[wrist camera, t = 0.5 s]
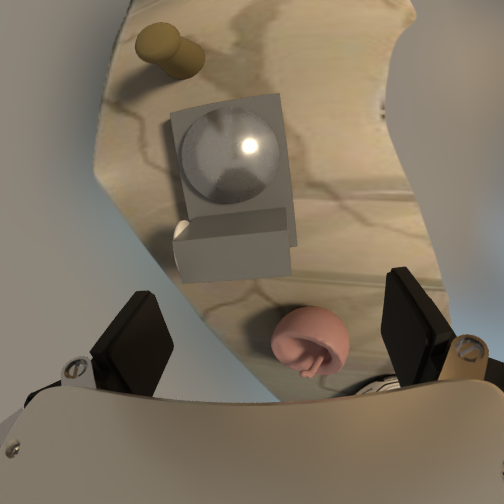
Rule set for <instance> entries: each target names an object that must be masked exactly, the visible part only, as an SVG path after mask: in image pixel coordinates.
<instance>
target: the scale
mask: <svg viewBox="0 0 504 504" xmlns="http://www.w3.org/2000/svg"><path fill="white" fill-rule="evenodd" d="M226 107H236V108H242V109H245V110H248V111H250V112H253V113H255V114H256V115H258V116H259V117H261V118H262V119H263V120H264V121H265V122H266V123H267V124H268V125H269V126H270V128H271V129H272V131H273V133H274V134H275V136H276V139H277V142H278V147H279V163H278V168H277V171H276V173H275V176H274V178H273V179H272V181H271V182H270V184H269V185H268V186H267V187H266V189H265V190H263V191H262V192H261V193H260V194H258V195H257V196H255V197H254V198H251V199H249V200H247V201H243V202H239V203H222V202H217V201H214V200H211V199H209V198H207V197H205V196H204V195H202V194H201V193H200V192H198V191H197V190H196V189H195V188H194V187H193V186H192V184H191V183H190V181H189V180H188V178H187V176H186V174H185V171H184V168H183V164H182V146H183V142H184V139H185V137H186V134H187V133H188V131H189V129H190V128H191V126H192V125H193V124H194V123H195V122H196V121H197V120H198V119H199V118H200V117H202V116H203V115H205V114H207V113H208V112H210V111H213V110H216V109H220V108H226ZM170 117H171V124H172V130H173V136H174V142H175V148H176V154H177V160H178V166H179V171H180V177H181V182H182V187H183V192H184V197H185V202H186V207H187V212H188V217H189V222H190V223H189V222H188V221H186V220H183V221H180V222H178V224H177V225H176V228H175V231H174V237H173V241H172V245H173V250H174V257H175V262H176V265H177V268H178V270H179V272H180V276H181V279H182V283H200V282H216V281H231V280H245V279H258V278H271V277H284V276H291V259H290V247H297V236H296V225H295V215H294V205H293V195H292V186H291V177H290V168H289V160H288V151H287V144H286V136H285V128H284V121H283V114H282V107H281V101H280V94H279V93H277V94H268V95H260V96H253V97H246V98H239V99H233V100H228V101H222V102H217V103H212V104H207V105H202V106H197V107H193V108H189V109H184V110H180V111H176V112H172V113H170Z"/></svg>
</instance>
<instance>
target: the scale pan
mask: <svg viewBox="0 0 504 504" xmlns="http://www.w3.org/2000/svg"><path fill="white" fill-rule="evenodd" d="M278 163H279V147H278V142H277V139H276V136H275V134H274V133H273V131H272V129H271V128H270V126H269V125H268V124H267V123H266V122H265V121H264V120H263V119H262V118H261V117H259V116H258V115H256V114H255V113H253V112H250V111H248V110H245V109H242V108H236V107H226V108H220V109H216V110H213V111H210V112H208V113H207V114H205V115H203V116H202V117H200V118H199V119H198V120H197V121H196V122H195V123H194V124H193V125H192V126H191V128H190V129H189V131H188V133H187V134H186V137H185V139H184V142H183V146H182V164H183V168H184V171H185V174H186V176H187V178H188V180H189V181H190V183H191V184H192V186H193V187H194V188H195V189H196V190H197V191H198V192H200V193H201V194H202V195H204V196H205V197H207V198H209V199H211V200H214V201H217V202H222V203H239V202H243V201H247V200H249V199H251V198H254V197H255V196H257V195H258V194H260V193H261V192H262V191H263V190H265V189H266V187H267V186H268V185H269V184H270V182H271V181H272V179H273V178H274V176H275V173H276V171H277V168H278Z"/></svg>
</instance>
